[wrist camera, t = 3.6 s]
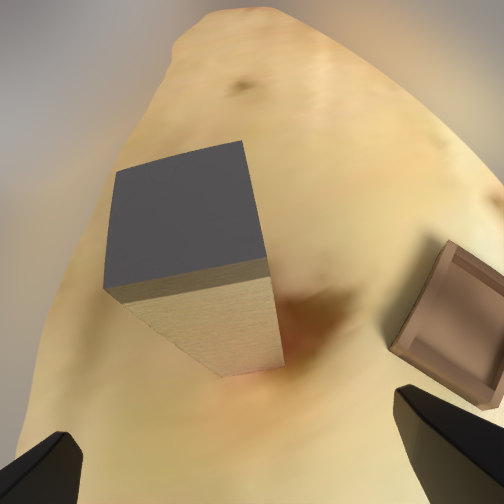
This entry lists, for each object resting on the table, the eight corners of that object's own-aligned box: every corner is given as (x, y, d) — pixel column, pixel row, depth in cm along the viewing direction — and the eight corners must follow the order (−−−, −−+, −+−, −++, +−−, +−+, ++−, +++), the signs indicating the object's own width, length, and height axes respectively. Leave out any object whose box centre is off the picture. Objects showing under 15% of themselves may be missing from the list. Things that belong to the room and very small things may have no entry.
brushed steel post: (285, 366, 19) (267, 257, 7) (221, 377, 19) (103, 288, 7) (273, 308, 21) (242, 140, 9) (214, 319, 21) (116, 172, 9)
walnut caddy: (482, 410, 15) (498, 407, 14) (388, 350, 19) (397, 342, 17) (520, 309, 18) (534, 299, 16) (439, 253, 21) (448, 239, 20)
